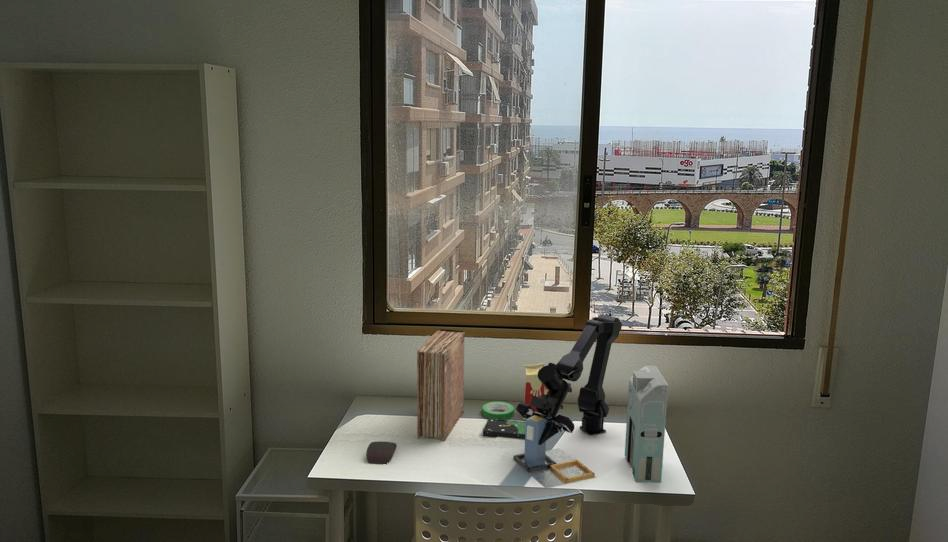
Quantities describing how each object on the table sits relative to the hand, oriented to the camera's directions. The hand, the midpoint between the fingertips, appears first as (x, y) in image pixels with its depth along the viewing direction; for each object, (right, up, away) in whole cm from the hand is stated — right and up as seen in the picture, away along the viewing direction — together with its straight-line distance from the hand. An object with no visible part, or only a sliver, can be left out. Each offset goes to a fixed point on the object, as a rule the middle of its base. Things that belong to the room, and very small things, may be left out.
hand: (532, 442), depth 234 cm
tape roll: (-9, +1, +40) cm, 41 cm away
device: (+33, -8, 0) cm, 34 cm away
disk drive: (-7, -3, +25) cm, 26 cm away
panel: (+6, -8, 0) cm, 10 cm away
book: (-29, -1, +30) cm, 42 cm away
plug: (+1, -7, +3) cm, 7 cm away
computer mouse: (-46, -6, +8) cm, 47 cm away
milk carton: (+4, 0, +38) cm, 39 cm away
